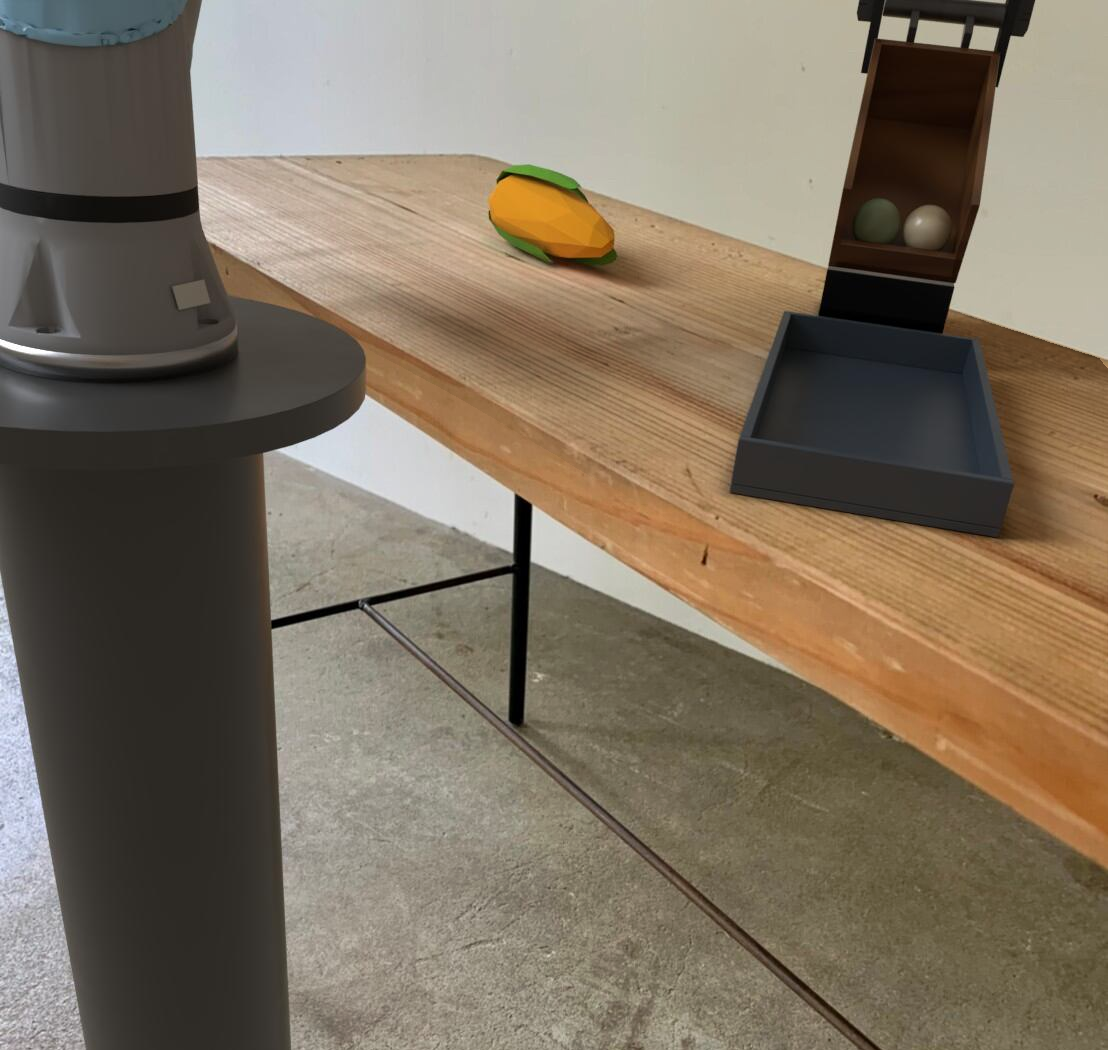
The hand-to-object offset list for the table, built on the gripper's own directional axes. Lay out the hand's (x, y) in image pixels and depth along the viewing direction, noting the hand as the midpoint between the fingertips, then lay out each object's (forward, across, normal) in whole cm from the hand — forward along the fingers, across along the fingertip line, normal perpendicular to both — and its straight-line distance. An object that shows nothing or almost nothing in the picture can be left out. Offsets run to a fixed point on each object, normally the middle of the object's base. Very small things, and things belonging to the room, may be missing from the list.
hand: (928, 78), depth 93 cm
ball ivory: (+8, -2, +14) cm, 16 cm away
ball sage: (+8, +2, +14) cm, 16 cm away
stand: (+18, 0, +7) cm, 19 cm away
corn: (+18, +30, -5) cm, 35 cm away
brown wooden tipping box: (+6, 0, +6) cm, 9 cm away
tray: (+17, 0, +32) cm, 37 cm away
